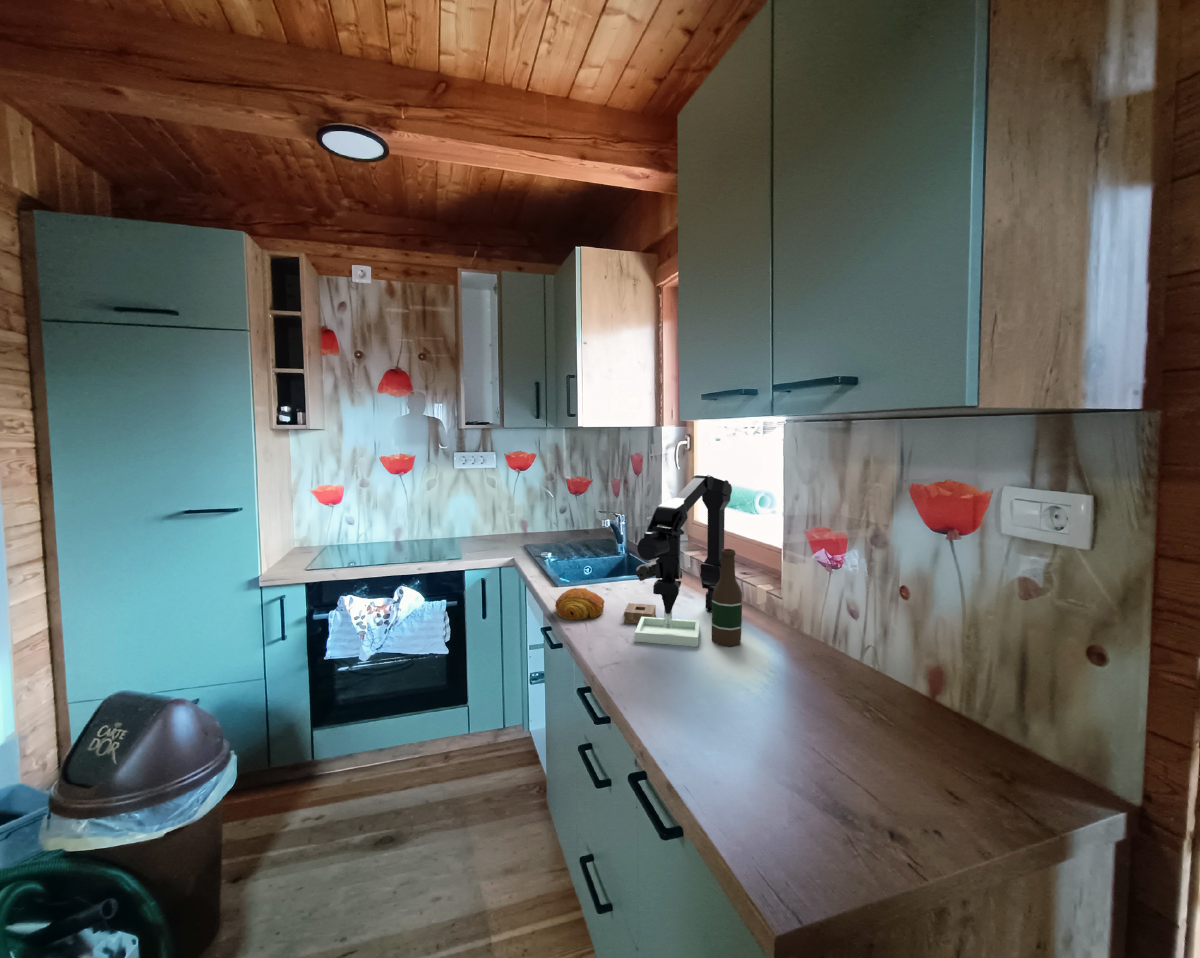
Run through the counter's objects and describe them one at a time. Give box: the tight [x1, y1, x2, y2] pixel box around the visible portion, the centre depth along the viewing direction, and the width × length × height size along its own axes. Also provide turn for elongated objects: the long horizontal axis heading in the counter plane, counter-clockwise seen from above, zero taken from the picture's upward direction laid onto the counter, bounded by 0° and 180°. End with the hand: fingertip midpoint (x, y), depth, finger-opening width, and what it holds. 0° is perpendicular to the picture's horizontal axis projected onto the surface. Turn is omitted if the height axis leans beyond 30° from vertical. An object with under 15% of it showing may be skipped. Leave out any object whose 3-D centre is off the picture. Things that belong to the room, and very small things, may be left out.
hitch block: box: [623, 602, 657, 624], centre depth 155 cm, size 8×8×3 cm
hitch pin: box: [661, 598, 673, 628], centre depth 142 cm, size 3×3×8 cm
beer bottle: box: [710, 548, 743, 648], centre depth 137 cm, size 8×8×24 cm
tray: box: [634, 617, 701, 648], centre depth 142 cm, size 16×12×2 cm
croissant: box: [554, 587, 605, 621], centre depth 160 cm, size 14×16×8 cm
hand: (668, 611), depth 142 cm, fingers closed on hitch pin, 3 cm apart
